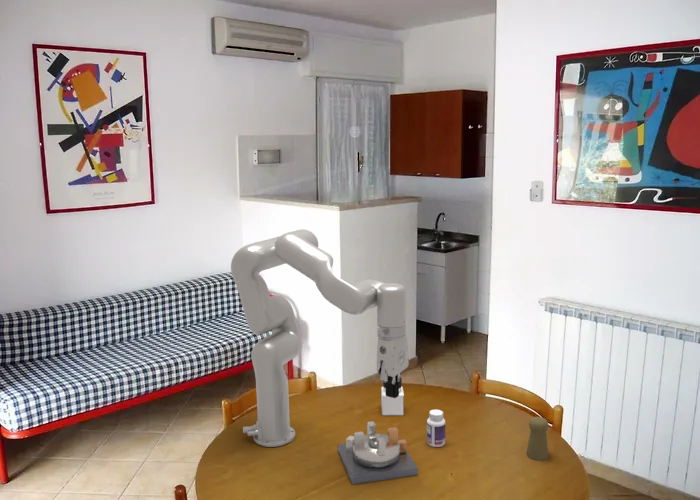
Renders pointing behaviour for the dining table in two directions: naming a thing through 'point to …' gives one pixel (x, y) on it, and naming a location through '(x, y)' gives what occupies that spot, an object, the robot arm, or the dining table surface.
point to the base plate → (370, 474)
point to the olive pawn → (538, 439)
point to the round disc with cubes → (377, 447)
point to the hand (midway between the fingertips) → (392, 396)
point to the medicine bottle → (392, 401)
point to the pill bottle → (436, 428)
